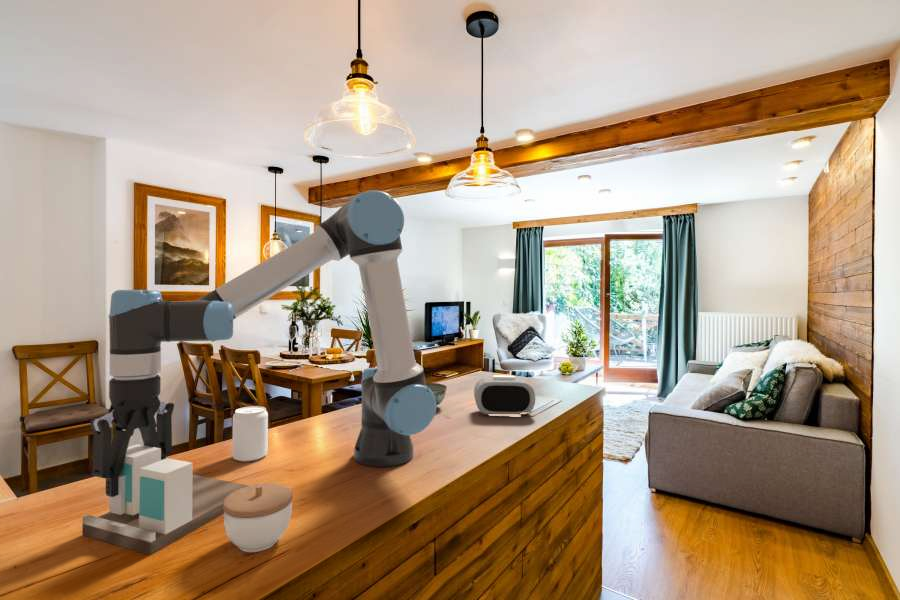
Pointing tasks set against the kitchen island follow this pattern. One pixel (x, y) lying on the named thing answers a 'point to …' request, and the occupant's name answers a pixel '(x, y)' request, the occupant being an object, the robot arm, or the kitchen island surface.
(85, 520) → the shelf board
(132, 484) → the tall carton
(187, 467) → the faced carton
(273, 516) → the lidded jar
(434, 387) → the bowl
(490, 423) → the kitchen island surface
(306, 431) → the kitchen island surface
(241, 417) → the beverage can
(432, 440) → the kitchen island surface
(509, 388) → the alarm clock
